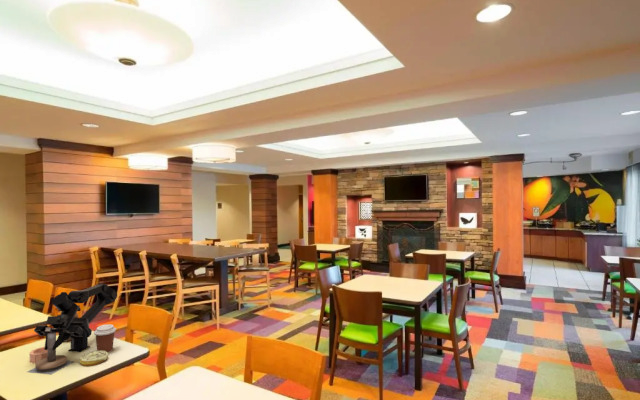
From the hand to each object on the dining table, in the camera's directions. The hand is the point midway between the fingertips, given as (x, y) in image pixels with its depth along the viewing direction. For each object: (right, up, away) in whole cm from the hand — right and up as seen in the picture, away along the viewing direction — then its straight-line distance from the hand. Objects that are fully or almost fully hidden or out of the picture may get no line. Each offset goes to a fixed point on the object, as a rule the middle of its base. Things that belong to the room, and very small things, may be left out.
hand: (49, 349), depth 153 cm
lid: (0, -7, +1) cm, 7 cm away
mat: (0, -8, +2) cm, 8 cm away
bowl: (-10, -8, +9) cm, 16 cm away
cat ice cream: (-13, -8, +30) cm, 33 cm away
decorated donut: (+15, -9, +7) cm, 19 cm away
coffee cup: (+13, -9, +18) cm, 24 cm away
